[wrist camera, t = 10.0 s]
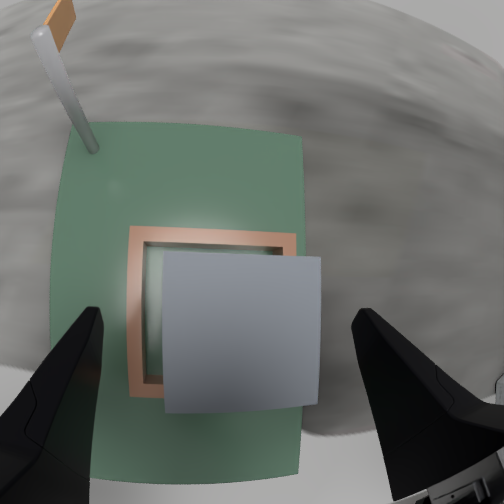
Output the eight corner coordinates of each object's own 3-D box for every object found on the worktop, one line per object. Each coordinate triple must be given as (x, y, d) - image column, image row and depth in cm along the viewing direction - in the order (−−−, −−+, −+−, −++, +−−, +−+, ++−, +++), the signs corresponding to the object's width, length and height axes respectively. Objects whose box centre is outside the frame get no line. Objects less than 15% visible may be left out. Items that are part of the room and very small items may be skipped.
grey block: (247, 350, 19) (317, 403, 9) (171, 350, 18) (165, 413, 8) (248, 274, 19) (320, 256, 9) (171, 271, 18) (163, 251, 8)
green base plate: (296, 471, 18) (378, 567, 8) (71, 472, 15) (21, 576, 4) (299, 126, 22) (382, 24, 11) (77, 113, 18) (28, -5, 7)
